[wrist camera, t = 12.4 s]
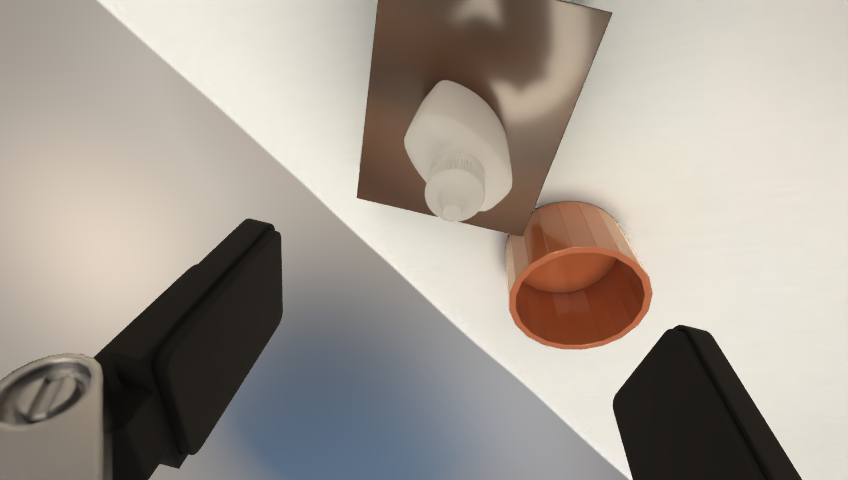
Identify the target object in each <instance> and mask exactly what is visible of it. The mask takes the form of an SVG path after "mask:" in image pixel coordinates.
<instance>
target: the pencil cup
mask: <svg viewBox="0 0 848 480" xmlns="http://www.w3.org/2000/svg"><path fill="white" fill-rule="evenodd" d="M505 263H506V276H507V288H508V301H509V311H510V313H511V316H512V318H513V320H514V322H515V324H516V326H517V327H518V328H519V329H520V330H521V331H522V332H524V333H525V334H526V335H527V336H528V337H530V338H532V339H533V340H535V341H537V342H539V343H541V344H544V345H547V346H551V347H555V348H560V349H588V348H593V347H598V346H603V345H606V344H608V343H610V342H613V341H615V340H617V339H620V338H622V337H623V336H625V335H626V334H627V333H629V332H630V331H631V330H632V329H634V328H635V327H636V326H637V325H639V323H640V322H641V320H642V319H643V318H644V316H645V315H646V313H647V312H648V310H649V306H650V302H651V298H652V288H651V284H650V279H649V276H648V274H647V273H646V271H645V269H644V267H643V266H642V264H641V262H640V260H639V259H638V257H637V255H636V253H635V252H634V250H633V248H632V246H631V245H630V243H629V241H628V239H627V238H626V236H625V234H624V233H623V231H622V229H621V228H620V226H619V225H618V224H617V222H616V221H615V220H614V219H613V217H612V216H610V215H609V214H608V213H607V212H605V211H604V210H602V209H600V208H598V207H596V206H594V205H590V204H587V203H582V202H571V201H569V202H558V203H553V204H549V205H546V206H543V207H541V208H538V209H536V210H534V211H533V212H532V214H531V216H530V219H529V221H528V224H527V226H526V229H525V231H524V234H523V236H517V235H513V234H510V235H509V237H508V240H507V243H506V248H505Z"/></svg>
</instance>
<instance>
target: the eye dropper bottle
mask: <svg viewBox="0 0 848 480" xmlns="http://www.w3.org/2000/svg"><path fill="white" fill-rule="evenodd" d="M404 144H405V148H406V151H407V154H408V156H409V158H410V160H411V162H412V163H413V165H414V167H415V168H416V170H417V171H418V173H419V174H420V175H421V177H422V178H423V179H424V180H425V182H426V187H425V195H424V196H425V199H426V202H427V205H428V207H429V209H430V210H431V211H432V212H433V213H434V214H435V215H436V216H438V217H440V218H442V219H443V220H448V221H454V222H456V221H457V222H458V221H464V220H467V219H470V217H472V216H474V215H475V214H477V212H479V211H487V210H489V209H491V208H493V207H494V206H495V205H496V204H497V203H499V202H500V201H501V200H502V199H503V198H504V197H505V196H506V195H507V194H508V193H509V191H510V190H511V188H512V170H511V163H510V156H509V149H508V143H507V137H506V133H505V131H504V128H503V126H502V124H501V122H500V120H499V119H498V117H497V115H496V114H495V112H494V111H493V110H492V108H491V107H490V106H489V105H488V104H487V103H486V102H485V101H484V100H483V99H482V98H481V97H480V96H478V95H477V94H476V93H474V92H473V91H471V90H470V89H468V88H466V87H464V86H462V85H460V84H458V83H455V82H452V81H448V80H442V81H440V82H438V83H437V84H436V85H435V87H434V88H433V89H432V90H431V91H430V93H429V94H428V95H427V96H426V98H425V99H424V100H423V102H422V104H421V105H420V107H419V109H418V111H417V113H416V115H415V117H414V119H413V121H412V122H411V124H410V126H409V129H408V131H407V133H406V136H405V138H404Z"/></svg>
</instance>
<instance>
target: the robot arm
mask: <svg viewBox="0 0 848 480" xmlns="http://www.w3.org/2000/svg"><path fill="white" fill-rule="evenodd" d="M282 312H283V305H282V258H281V235H280V233H279V232H277V231H275V228H274V226H273V225H272V224H270V223H266V222H261V221H257V220H253V219H246V220H244V221H243V222H242V223H241V224H240V225H239V226H238V227H237V228H236V229H235V230H234V231H233V232H232V233H230V234H229V235H228V236H227V237H226V238H225V239H224V240H223V241H222V242H221V243H220V244H219V245H218V246H217V247H216V248H215V249H213V250H212V251H211V252H210V253H209V254H208V255H207V256H206V257H205V258H204V259H203V260H202V261H201V262H200V263H199V264H197V265H194V266H192V267H191V268H190V269H188V270H187V271H186V272H185V273H184V274H183V275H182V276H181V277H179V279H177V280H176V281H175V282H174V283H173V284H172V285H171V286H170V287H169V288H168V289H167V290H166V291H164V292H163V293H162V294H161V295H160V296H159V297H158V298H157V299H156V300H155V301H154V302H153V303H152V304H151V305H150V306H148V307H147V308H146V309H145V310H144V311H143V312H142V313H141V314H140V315H139V316H138V317H137V318H135V319H134V320H133V321H132V322H131V323H130V324H129V325H128V326H127V327H126V328H125V329H124V330H123V331H122V332H120V333H119V334H118V335H117V336H116V337H115V338H114V339H113V340H112V341H111V342H110V343H109V344H108V345H106V346H105V347H104V348H103V349H102V350H101V351H100V352H99V353H98V354H97V355H96V356H95V357H94V358H92V357H89V356H86V355H83V354H73V353H65V354H58V355H52V356H48V357H45V358H41V359H38V360H35V361H32V362H30V363H28V364H26V365H24V366H22V367H20V368H18V369H16V370H14V371H13V372H11V373H10V374H9V375H7V376H6V377H4V378H3V379H2V380H0V480H148V479H149V478H150V477H151V475H152V474H153V472H154V471H155V469H156V468H157V466H158V465H159V464H163V465H167V466H171V467H174V468H178V469H179V468H180V466H181V465H182V463H183V462H184V460H185V459H186V457H187V455H188V454H190V455H194V454H196V453H197V452H198V451H199V450H200V448H201V447H202V446H203V444H204V442H205V441H206V439H207V437H208V436H209V435H210V433H211V431H212V430H213V428H214V427H215V425H216V423H217V422H218V420H219V418H220V417H221V416H222V414H223V412H224V411H225V409H226V408H227V406H228V405H229V403H230V401H231V400H232V398H233V397H234V395H235V393H236V392H237V390H238V389H239V387H240V385H241V384H242V382H243V381H244V379H245V378H246V376H247V374H248V373H249V371H250V370H251V368H252V367H253V365H254V363H255V362H256V360H257V359H258V357H259V355H260V354H261V352H262V351H263V349H264V348H265V346H266V344H267V343H268V341H269V340H270V338H271V336H272V335H273V333H274V332H275V330H276V328H277V327H278V325H279V323H280V321H281V318H282ZM613 410H614V414H615V418H616V421H617V425H618V428H619V432H620V435H621V439H622V443H623V446H624V450H625V453H626V457H627V460H628V464H629V467H630V471H631V474H632V478H633V480H802V479H801V477H800V476H799V474H798V472H797V471H796V469H795V468H794V466H793V464H792V463H791V461H790V460H789V458H788V456H787V455H786V453H785V452H784V450H783V448H782V447H781V445H780V444H779V442H778V440H777V439H776V437H775V436H774V434H773V432H772V431H771V429H770V428H769V426H768V424H767V423H766V421H765V419H764V418H763V416H762V415H761V413H760V411H759V410H758V408H757V407H756V405H755V403H754V402H753V400H752V399H751V397H750V395H749V394H748V392H747V391H746V389H745V387H744V386H743V384H742V383H741V381H740V379H739V378H738V376H737V375H736V373H735V371H734V370H733V368H732V367H731V365H730V363H729V362H728V360H727V359H726V357H725V355H724V354H723V352H722V351H721V349H720V347H719V346H718V344H717V343H716V341H715V339H714V338H713V336H712V335H711V334H710V333H709V332H707V331H704V330H700V329H696V328H692V327H688V326H684V325H678V326H676V327H674V328H673V329H669V330H667V331H666V332H665V333H664V334H663V335H662V337H661V338H660V339H659V340H658V342H657V343H656V344H655V345H654V347H653V348H652V349H651V350H650V352H649V353H648V354H647V356H646V357H645V358H644V359H643V361H642V362H641V363H640V364H639V366H638V367H637V368H636V369H635V371H634V372H633V373H632V374H631V376H630V377H629V378H628V380H627V381H626V382H625V383H624V385H623V386H622V387H621V388H620V390H619V391H618V392H617V393H616V395H615V397H614V400H613Z"/></svg>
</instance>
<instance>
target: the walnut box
mask: <svg viewBox="0 0 848 480" xmlns="http://www.w3.org/2000/svg"><path fill="white" fill-rule="evenodd" d="M611 15H612V12H608V11H604V10H599V9H595V8H591V7H587V6H582V5H578V4H574V3H569V2H565V1H561V0H378V5H377V15H376V24H375V33H374V43H373V52H372V61H371V70H370V80H369V89H368V98H367V107H366V117H365V126H364V135H363V144H362V154H361V163H360V172H359V181H358V191H357V198H359V199H364V200H368V201H372V202H376V203H381V204H385V205H389V206H394V207H398V208H402V209H406V210H411V211H415V212H419V213H423V214H428V215H432V216H436V215H435V214H434V213H433V212H432V211H431V210H430V209H429V207H428V205H427V202H426V199H425V196H424V195H425V187H426V182H425V180H424V179H423V178H422V177H421V175H420V174H419V173H418V171H417V170H416V168H415V167H414V165H413V163H412V162H411V160H410V158H409V156H408V154H407V151H406V148H405V144H404V138H405V136H406V133H407V131H408V129H409V126H410V124H411V122H412V121H413V119H414V117H415V115H416V113H417V111H418V109H419V107H420V105H421V104H422V102H423V100H424V99H425V98H426V96H427V95H428V94H429V93H430V91H431V90H432V89H433V88H434V87H435V85H436V84H437V83H438V82H440V81H442V80H448V81H452V82H455V83H458V84H460V85H462V86H464V87H466V88H468V89H470V90H471V91H473V92H474V93H476V94H477V95H478V96H480V97H481V98H482V99H483V100H484V101H485V102H486V103H487V104H488V105H489V106H490V107H491V108H492V110H493V111H494V112H495V114H496V115H497V117H498V119H499V120H500V122H501V124H502V126H503V128H504V131H505V133H506V137H507V143H508V149H509V156H510V163H511V170H512V188H511V190H510V191H509V193H508V194H507V195H506V196H505V197H504V198H503V199H502V200H501V201H500V202H499V203H497V204H496V205H495V206H494V207H493V208H491V209H489V210H487V211H479V212H477V214H475V215H474V216H472V217H470V219H467V220H464V221H458V222H462V223H466V224H470V225H475V226H479V227H483V228H487V229H492V230H496V231H500V232H505V233H509V234H513V235H517V236H523V234H524V231H525V229H526V226H527V224H528V221H529V219H530V216H531V214H532V211H533V209H534V206H535V204H536V201H537V199H538V197H539V194H540V192H541V189H542V187H543V184H544V182H545V179H546V177H547V174H548V172H549V169H550V167H551V164H552V162H553V159H554V157H555V154H556V152H557V149H558V147H559V144H560V142H561V139H562V137H563V134H564V132H565V129H566V127H567V124H568V122H569V119H570V117H571V115H572V112H573V110H574V107H575V105H576V102H577V100H578V97H579V95H580V92H581V90H582V87H583V85H584V82H585V80H586V77H587V75H588V72H589V70H590V67H591V65H592V62H593V60H594V57H595V55H596V52H597V50H598V47H599V45H600V42H601V40H602V38H603V35H604V33H605V30H606V28H607V25H608V23H609V20H610V18H611ZM436 217H438V216H436Z"/></svg>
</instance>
